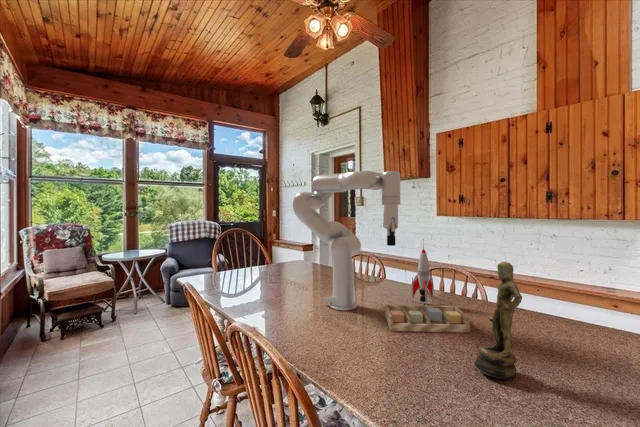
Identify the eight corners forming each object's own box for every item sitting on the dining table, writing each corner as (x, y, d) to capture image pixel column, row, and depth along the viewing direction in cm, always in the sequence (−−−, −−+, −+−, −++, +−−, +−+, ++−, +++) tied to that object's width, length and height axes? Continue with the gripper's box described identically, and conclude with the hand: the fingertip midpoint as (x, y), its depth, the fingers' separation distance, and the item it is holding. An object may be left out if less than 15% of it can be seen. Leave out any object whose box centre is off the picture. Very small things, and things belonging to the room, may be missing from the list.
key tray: (390, 330, 112) (390, 317, 112) (385, 317, 126) (385, 304, 126) (470, 332, 110) (470, 318, 110) (455, 318, 124) (455, 305, 124)
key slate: (429, 319, 116) (429, 311, 116) (426, 315, 120) (426, 308, 120) (441, 320, 115) (441, 312, 115) (438, 315, 120) (438, 308, 120)
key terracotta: (392, 322, 117) (392, 314, 117) (390, 318, 121) (390, 310, 121) (403, 322, 116) (403, 314, 116) (401, 318, 121) (401, 310, 121)
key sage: (410, 322, 116) (410, 314, 116) (408, 318, 121) (408, 310, 121) (422, 322, 116) (422, 314, 116) (419, 318, 120) (419, 310, 120)
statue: (466, 365, 87) (467, 260, 87) (503, 363, 88) (504, 259, 88) (491, 387, 77) (491, 267, 76) (533, 385, 78) (533, 266, 77)
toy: (432, 302, 145) (432, 238, 145) (437, 308, 137) (437, 240, 136) (411, 301, 146) (411, 238, 146) (415, 307, 138) (415, 240, 137)
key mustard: (449, 323, 115) (449, 315, 115) (445, 318, 120) (445, 311, 120) (461, 323, 115) (461, 315, 115) (456, 319, 119) (456, 311, 119)
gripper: (379, 201, 136) (379, 243, 136) (384, 201, 121) (384, 247, 121) (397, 201, 135) (397, 243, 135) (403, 200, 120) (403, 247, 120)
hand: (391, 245), depth 128 cm, fingers closed
